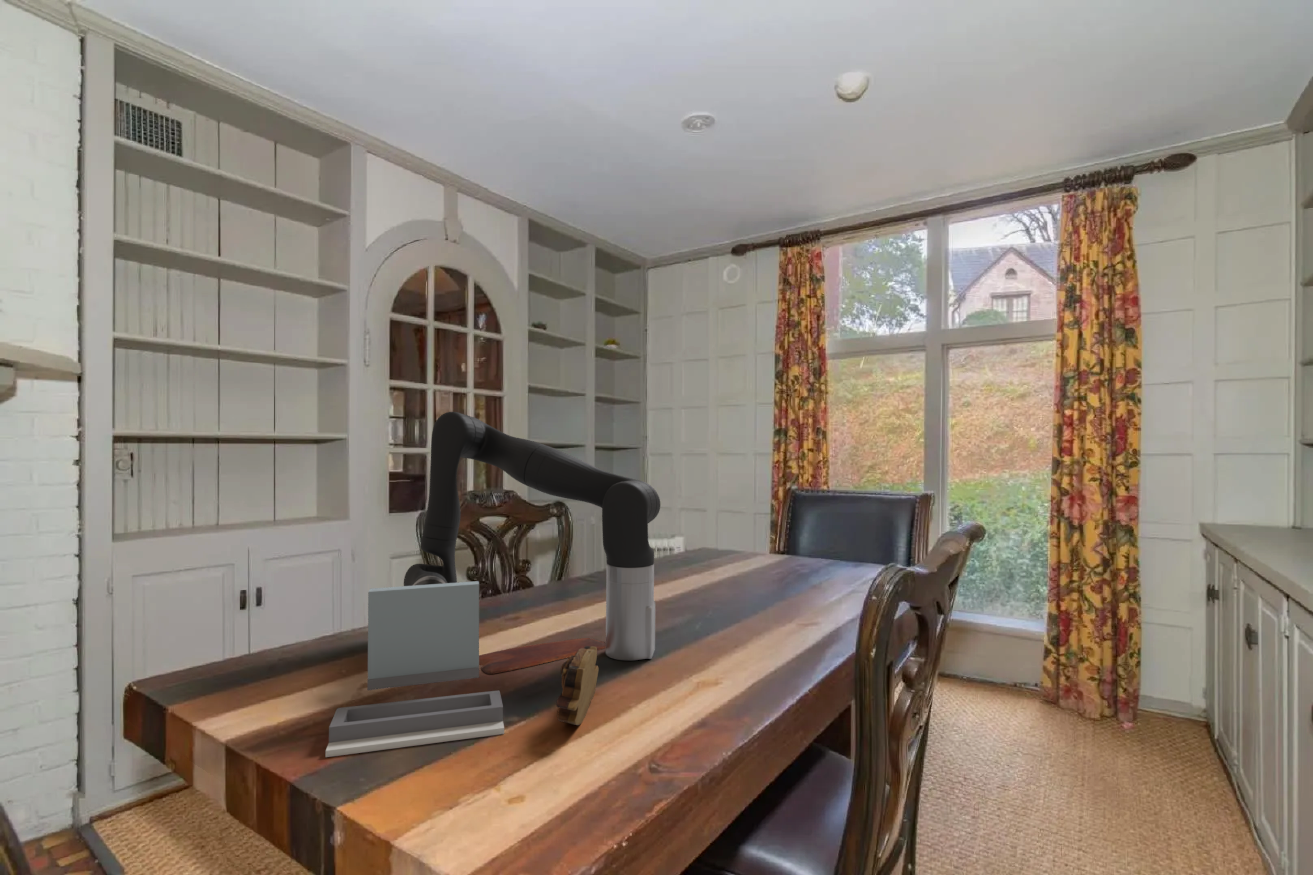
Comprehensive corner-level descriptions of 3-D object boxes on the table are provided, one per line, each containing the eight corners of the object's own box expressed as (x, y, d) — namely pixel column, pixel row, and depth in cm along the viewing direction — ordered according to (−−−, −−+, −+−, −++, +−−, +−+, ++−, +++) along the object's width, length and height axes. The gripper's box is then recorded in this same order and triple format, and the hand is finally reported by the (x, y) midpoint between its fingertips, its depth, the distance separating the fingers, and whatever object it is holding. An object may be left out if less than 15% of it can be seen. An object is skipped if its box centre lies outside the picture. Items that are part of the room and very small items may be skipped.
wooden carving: (571, 696, 100) (571, 632, 100) (599, 696, 99) (600, 633, 100) (550, 744, 83) (551, 668, 83) (584, 744, 83) (585, 668, 83)
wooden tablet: (489, 679, 108) (489, 670, 108) (467, 664, 116) (468, 655, 116) (617, 650, 125) (617, 641, 125) (590, 638, 132) (590, 630, 132)
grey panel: (476, 660, 106) (476, 574, 107) (479, 677, 98) (479, 584, 99) (373, 671, 101) (373, 581, 101) (367, 690, 93) (367, 592, 93)
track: (497, 703, 96) (498, 684, 97) (504, 733, 86) (504, 713, 86) (339, 721, 89) (339, 701, 90) (325, 757, 79) (325, 734, 79)
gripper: (387, 581, 114) (378, 603, 98) (468, 576, 118) (471, 596, 102) (387, 623, 114) (377, 651, 97) (467, 616, 118) (471, 642, 102)
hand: (425, 623), depth 100 cm, fingers closed on grey panel, 2 cm apart
